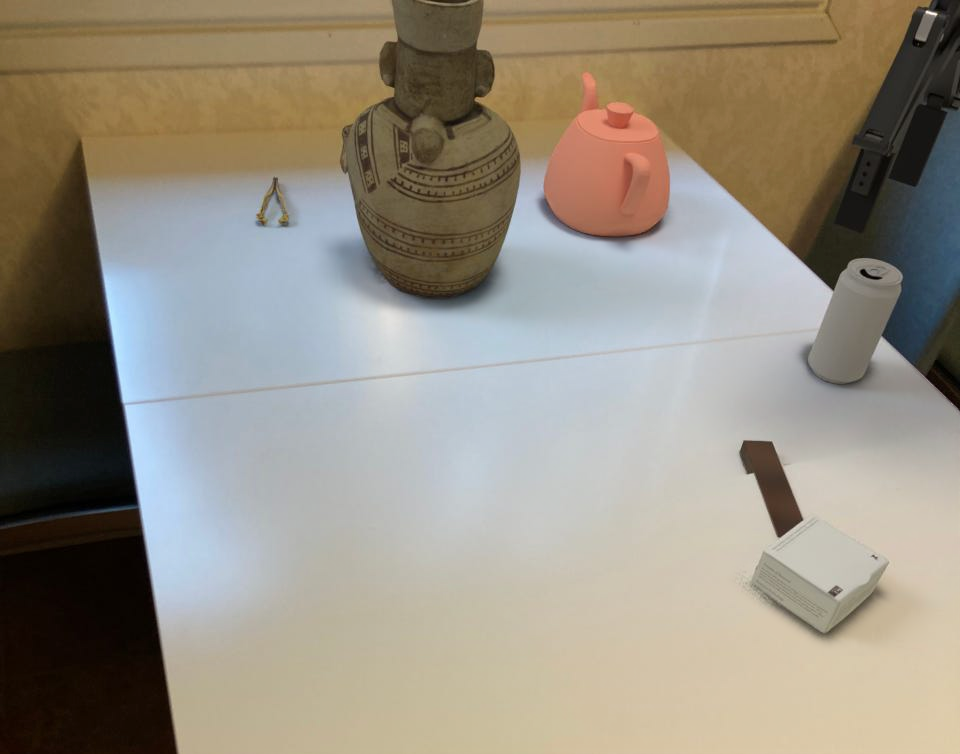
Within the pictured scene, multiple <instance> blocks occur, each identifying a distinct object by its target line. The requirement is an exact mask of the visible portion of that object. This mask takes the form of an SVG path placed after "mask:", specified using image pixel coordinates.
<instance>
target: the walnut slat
mask: <svg viewBox="0 0 960 754" xmlns="http://www.w3.org/2000/svg"><path fill="white" fill-rule="evenodd" d="M739 455H740V458H741V460H742V463H743V466H744V469H745V471H746V475H752V474H753V475H754V478H755V479H756V480H755V481H756V483H757V486H758V488H759V491H760V493H761V497H762V499H763V502H764V505H765V507H766V510H767V513H768V516H769V518H770V521H771V524H772V527H773V530H774V533H775V535H776V537H777V539H779V538H781V537H782V536H783V535H785V534H786V533H787V532H788V531H790V530H791V529H792V528H794V527H795V526H796V525H798V524H799V523H800V522H802V521H803V520H804V517H803V516H802V512H801V510H800V507H799V505H798V502H797V500H796V497H795V495H794V492H793V490H792V487H791V485H790V482H789V480H788V477H787V476H786V472H785V470H784V468H783V464H782V463H781V460H780V457H779V455H778V453H777V450H776V447H775V445H774V443H773V441H771V440H751V439H750V440H749V439H747V440H745V439H744V440H742V443H741V446H740V449H739Z"/></svg>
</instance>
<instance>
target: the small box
mask: <svg viewBox="0 0 960 754" xmlns="http://www.w3.org/2000/svg"><path fill="white" fill-rule="evenodd" d="M889 563H890V561H889V560H888V559H887V558H886V557H885V556H883V555H881V554H880V553H879V552H877V551H875V550H874V549H873V548H871V547H870V546H867V544H864V543H863V542H861V541H860V540H857V539H856V538H854V537H852V536H851V535H849V534H847V533H846V532H844V531H843V530H841V529H839V528H837V527H836V526H834V525H833V524H831V523H829V522H828V521H826V520H825V519H823V518H822V517H820V516H819V515H816V514H815V513H811V514H810V515H808V516H807V517H805V518H803V521H802V522H800V523H799V524H798V525H796V526H795V527H794V528H792V529H791V530H790V531H788V532H787V533H786V534H785V535H783V536H782V537H781V538H777V540H775V541H774V542H773V543H772V544H770V545H769V546H768V547H766V548H765V549H764V550H763V551H762V552H761V555H760V558H759V561H758V563H757V565H756V567H755V569H754V573H753V574H752V578H751V580H750V582H749V583H750V584H751V585H752V586H753V587H755V588H756V589H758V590H759V591H760V592H762V593H763V594H765V595H766V596H767V597H769V598H770V599H772V600H773V601H774V602H776V603H778V604H779V605H780V606H782V607H783V608H784V609H786V610H787V611H789V612H791V614H793V615H795V616H796V617H798V618H799V619H800V620H802V621H803V622H805V623H807V624H808V625H810V627H813V628H814V629H815V630H818V631H819V632H821V633H822V634H827V633H828V632H829V631H830V630H832V629H834V628H835V627H836V626H837V625H838V624H839V623H840V622H842V621H843V620H844V619H845V618H846V617H848V616H849V615H850V614H851V613H852V612H853V611H854V610H856V609H857V608H858V607H859V606H860V605H861V604H862V603H863V602H864V601H865V600H867V599H868V598H869V597H870V596H871V595H872V594H873V592H874V590H875V589H876V587H877V585H878V583H879V581H880V580H881V578H882V576H883V574H884V573H885V571H886V570H887V567H888V566H889Z"/></svg>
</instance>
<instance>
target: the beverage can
mask: <svg viewBox="0 0 960 754" xmlns="http://www.w3.org/2000/svg"><path fill="white" fill-rule="evenodd" d="M903 279H904V276H903V274H902V271H900V270H899V269H898V268H897V267H895V266H894V265H892V264H890V263H888V262H885V261H884V260H883V261H882V260H880V259H875V258H870V257H869V258H868V257H867V258H866V257H861V258H855V259H852V260H851V261H849V262H848V264H847V266H846V268H845V269H843V271H842V272H841V273H840V274H839V276H838V280H837V282H836V284H835V287H834V290H833V293H832V295H831V298H830V300H829V303H828V304H827V305H828V306H827V308H826V310H825V313H824V316H823V318H822V321H821V323H820V326H819V328H818V331H817V333H816V335H815V339H814V342H813V344H812V346H811V349H810V351H809V354H808V357H807V363H808V366H809V367H810V368H811V370H812V373H814V375H815V376H817V377H818V378H819V379H820V380H822V381H825V382H828V383H832V384H837V385H838V384H839V385H845V384H850V383H852V382H856V381H858V380H861V379H862V378H863V377H864V375H865V374H866V372H867V369H868V368H869V365H870V362H871V360H872V358H873V356H874V353H875V351H876V349H877V346H878V345H879V343H880V340H881V338H882V335H883V333H884V331H885V329H886V327H887V325H888V323H889V320H890V317H891V315H892V313H893V311H894V309H895V306H896V304H897V301H898V300H899V297H900V295H901V293H902V284H901V283H902V281H903Z"/></svg>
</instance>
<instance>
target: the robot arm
mask: <svg viewBox="0 0 960 754" xmlns="http://www.w3.org/2000/svg"><path fill="white" fill-rule="evenodd" d="M959 96H960V0H930V3H929V5H928V7H927V6H924V7H923V6H920V5H919V6H917V7H916V8H915V10H914V11H913V13H912V14H911V19H910V22H909V24H908V27H907V29H906V32H905V34H904V37H903V39H902V41H901V43H900V46H899V48H898V51H897V53H896V55H895V57H894V59H893V61H892V63H891V66H890V67H889V70H888V72H887V74H886V76H885V78H884V80H883V82H882V84H881V86H880V88H879V91H878V93H877V95H876V97H875V99H874V101H873V103H872V105H871V108H870V109H869V112H868V114H867V116H866V117H865V121H864V122H863V124H862V126H861V128H860V131H859V133H858V134H857V133H855V134H854V136H853V138H852V141H851V146H853V147H856V148H858V149H859V148H860V149H859V152H858V155H857V158H856V161H855V163H854V164H855V165H854V166H853V169H852V171H851V175H850V178H849V180H848V183H847V185H846V189H845V191H844V194H843V197H842V199H841V202H840V205H839V208H838V211H837V214H836V216H835V219H834V222H833V224H835V225H838V226H840V227H843V228H846V229H848V230H851V231H854V232H857V233H859V234H864V233H865V232H866V230H867V228H868V225H869V223H870V220H871V218H872V215H873V212H874V211H875V207H876V205H877V203H878V200H879V197H880V195H881V193H882V190H883V187H884V186H885V185H884V184H885V182H886V179H887V178H888V179H889V180H893V181H895V182H898V183H901V184H904V185H907V186H910V187H914V188H916V187H917V186H918V185H919V183H920V180H921V178H922V175H923V172H924V171H925V168H926V166H927V163H928V161H929V159H930V156H931V154H932V152H933V149H934V146H935V144H936V142H937V139H938V138H939V135H940V132H941V129H942V127H943V125H944V123H945V120H946V118H947V116H948V113H949V112H948V111H946V110H950V111H953V112H955V113H956V112H958V111H959V109H960V97H959ZM921 100H922V102H923V103H920V102H921ZM924 103H926V104H924ZM945 109H946V110H945ZM907 125H908V126H907ZM906 128H907V129H906ZM905 129H906V132H905V134H904V137H903V139H902V142H901V144H900V147H899V150H898V152H897V154H896V153H894V152H895V148H896V146H897V144H898V142H899V140H900V138H901V136H902V135H903V133H904V131H905ZM878 132H879V133H882V135H880V134H878ZM895 157H896V158H895ZM894 159H895V160H894ZM893 162H894V163H893ZM891 166H892V168H891ZM890 169H891V170H890ZM889 172H890V173H889ZM888 174H889V176H888Z"/></svg>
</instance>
